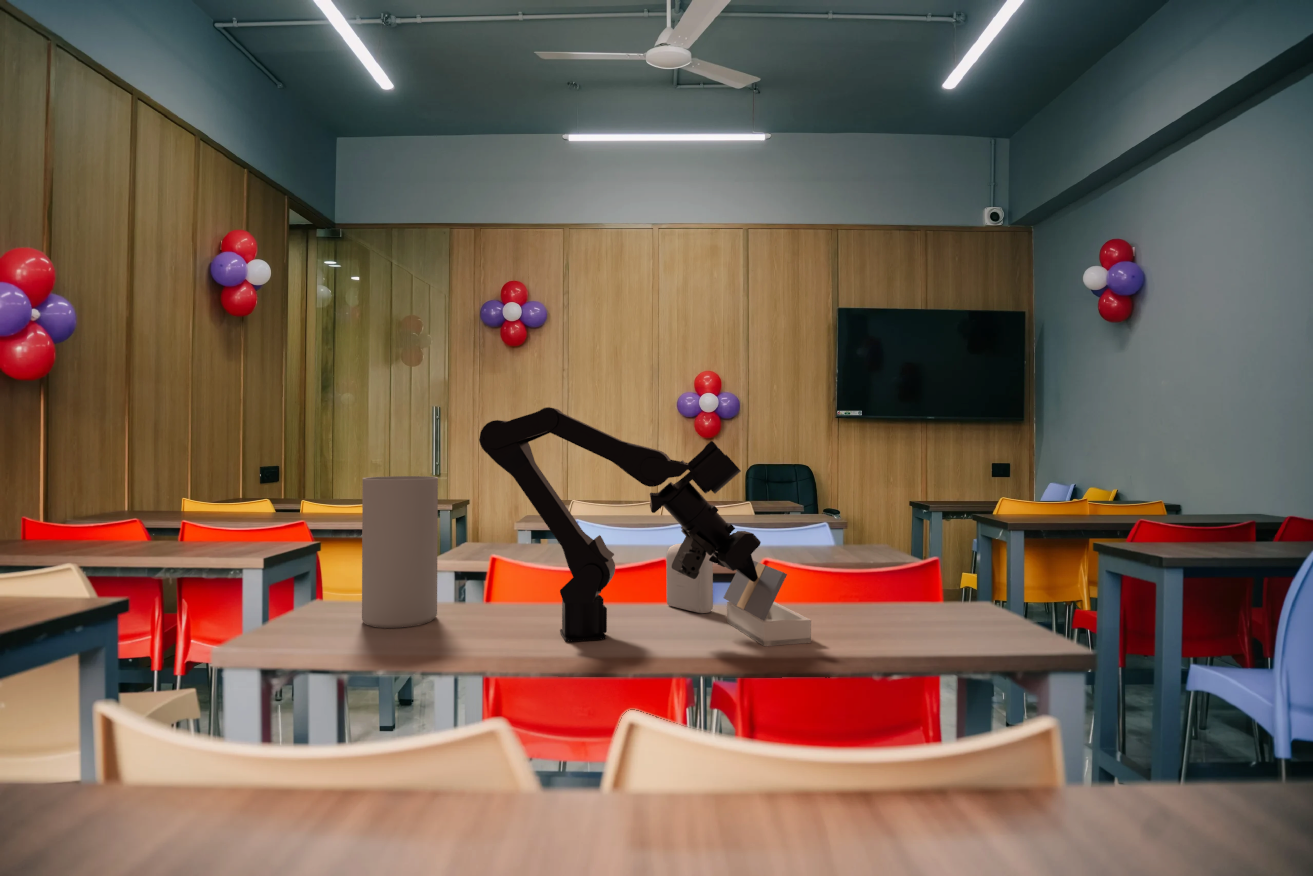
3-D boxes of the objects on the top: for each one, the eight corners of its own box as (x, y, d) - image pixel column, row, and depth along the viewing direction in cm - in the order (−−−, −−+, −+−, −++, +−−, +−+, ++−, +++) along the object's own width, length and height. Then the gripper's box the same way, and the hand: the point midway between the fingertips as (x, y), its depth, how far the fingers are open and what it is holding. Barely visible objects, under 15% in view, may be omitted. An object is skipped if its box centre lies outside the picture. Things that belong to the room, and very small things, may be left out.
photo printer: (663, 605, 146) (663, 541, 146) (679, 602, 149) (680, 539, 149) (699, 615, 138) (699, 547, 138) (716, 612, 141) (716, 545, 141)
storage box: (764, 646, 117) (764, 623, 117) (726, 622, 133) (726, 601, 133) (811, 642, 119) (811, 619, 119) (769, 619, 135) (769, 599, 135)
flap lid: (764, 621, 117) (759, 618, 117) (726, 600, 133) (722, 597, 132) (787, 574, 118) (782, 571, 118) (747, 559, 134) (743, 556, 134)
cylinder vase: (390, 610, 141) (391, 475, 141) (450, 614, 138) (451, 476, 138) (346, 626, 129) (346, 478, 129) (410, 631, 126) (411, 480, 126)
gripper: (643, 540, 130) (703, 603, 132) (675, 557, 112) (743, 629, 114) (688, 495, 132) (746, 557, 135) (727, 503, 114) (792, 576, 117)
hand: (755, 579), depth 125 cm, fingers closed, pressing on flap lid
